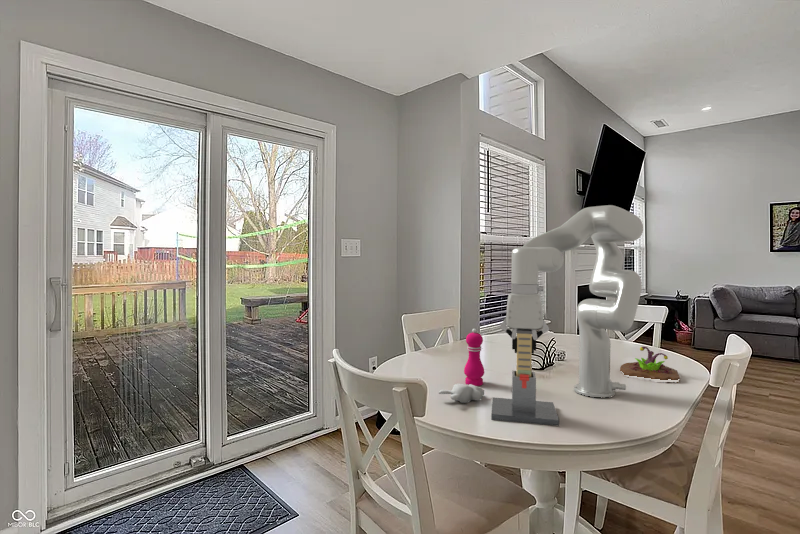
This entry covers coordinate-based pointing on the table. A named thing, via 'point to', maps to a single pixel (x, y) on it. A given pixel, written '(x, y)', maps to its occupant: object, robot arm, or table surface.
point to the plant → (650, 368)
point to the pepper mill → (474, 359)
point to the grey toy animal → (464, 392)
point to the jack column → (524, 351)
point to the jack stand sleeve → (524, 404)
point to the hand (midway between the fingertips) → (523, 351)
